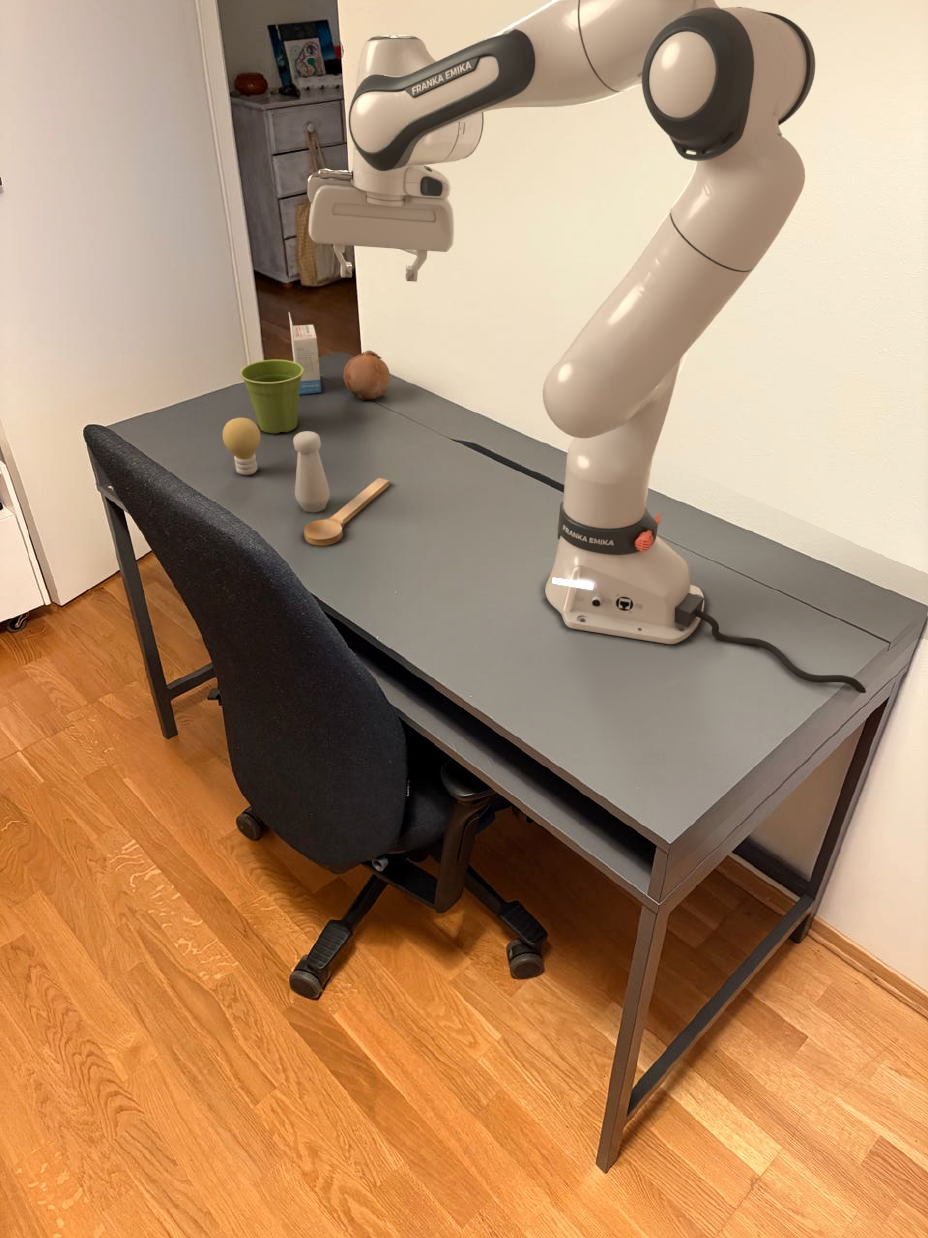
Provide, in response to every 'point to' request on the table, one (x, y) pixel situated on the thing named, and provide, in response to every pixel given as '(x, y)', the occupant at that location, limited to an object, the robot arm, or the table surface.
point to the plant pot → (274, 393)
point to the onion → (366, 376)
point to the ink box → (306, 357)
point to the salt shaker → (310, 473)
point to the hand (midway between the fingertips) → (378, 278)
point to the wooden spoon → (342, 516)
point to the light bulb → (242, 443)
